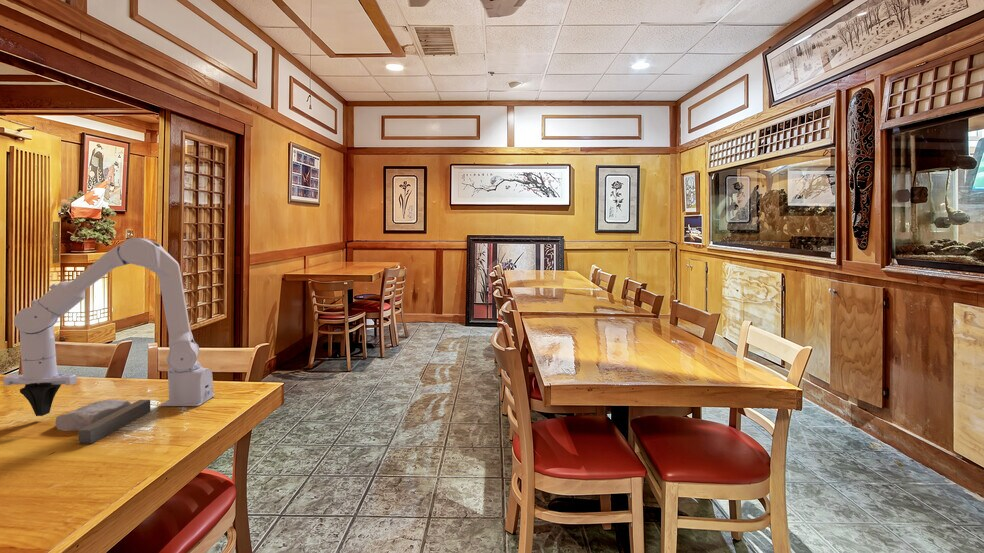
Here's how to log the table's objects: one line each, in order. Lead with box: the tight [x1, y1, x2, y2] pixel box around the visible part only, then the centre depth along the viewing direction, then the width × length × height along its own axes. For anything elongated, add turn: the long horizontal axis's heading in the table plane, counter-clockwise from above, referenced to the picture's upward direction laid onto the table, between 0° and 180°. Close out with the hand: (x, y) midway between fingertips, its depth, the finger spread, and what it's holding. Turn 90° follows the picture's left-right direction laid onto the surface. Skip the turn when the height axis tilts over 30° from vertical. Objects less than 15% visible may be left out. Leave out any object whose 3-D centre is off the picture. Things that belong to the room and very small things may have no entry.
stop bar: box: [77, 399, 152, 445], centre depth 104 cm, size 2×18×3 cm, turn 3°
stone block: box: [55, 398, 131, 432], centre depth 107 cm, size 12×5×10 cm
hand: (42, 414), depth 106 cm, fingers closed
